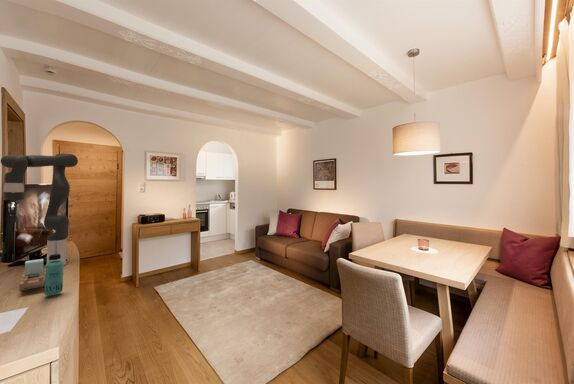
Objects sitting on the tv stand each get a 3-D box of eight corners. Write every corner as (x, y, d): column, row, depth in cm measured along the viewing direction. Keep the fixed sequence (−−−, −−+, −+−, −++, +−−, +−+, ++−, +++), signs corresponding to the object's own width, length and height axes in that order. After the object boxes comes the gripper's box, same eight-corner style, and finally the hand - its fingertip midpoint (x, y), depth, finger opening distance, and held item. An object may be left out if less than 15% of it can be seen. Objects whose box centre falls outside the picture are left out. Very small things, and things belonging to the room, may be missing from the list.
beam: (21, 282, 131) (21, 268, 131) (47, 278, 138) (47, 264, 138) (17, 297, 114) (18, 281, 114) (47, 291, 121) (47, 276, 121)
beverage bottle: (41, 296, 115) (42, 255, 115) (59, 291, 121) (60, 252, 121) (47, 300, 112) (48, 257, 112) (65, 294, 118) (66, 254, 118)
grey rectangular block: (25, 275, 124) (25, 261, 124) (43, 272, 129) (43, 258, 129) (24, 278, 121) (25, 263, 121) (42, 275, 125) (43, 260, 125)
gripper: (5, 190, 136) (4, 221, 136) (2, 191, 127) (1, 224, 127) (24, 191, 141) (24, 220, 141) (23, 191, 132) (22, 223, 132)
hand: (13, 222), depth 134 cm, fingers closed
